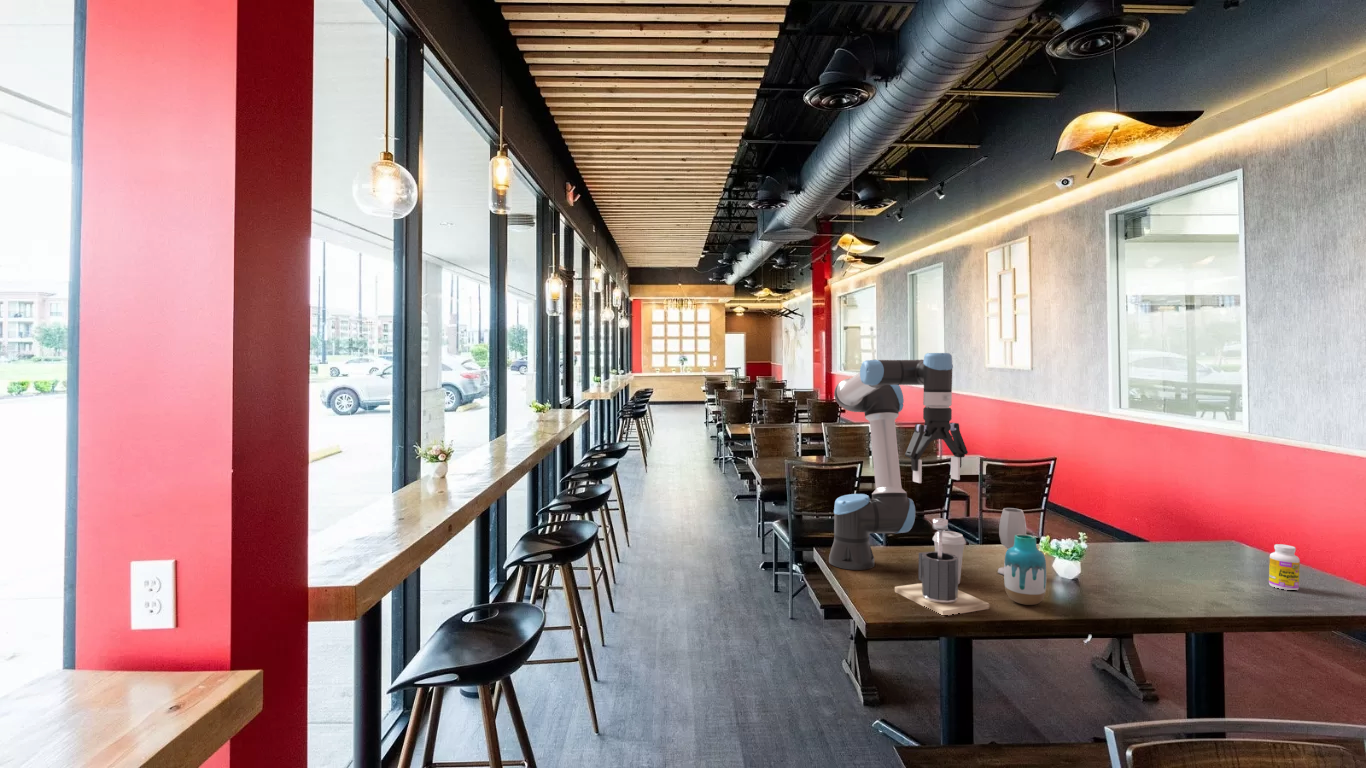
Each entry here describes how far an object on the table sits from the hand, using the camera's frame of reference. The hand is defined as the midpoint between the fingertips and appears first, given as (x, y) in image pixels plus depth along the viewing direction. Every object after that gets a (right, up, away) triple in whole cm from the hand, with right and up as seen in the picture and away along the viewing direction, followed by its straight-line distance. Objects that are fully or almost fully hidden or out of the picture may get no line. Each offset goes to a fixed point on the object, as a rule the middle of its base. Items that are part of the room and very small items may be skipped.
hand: (936, 480), depth 180 cm
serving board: (+2, -35, +2) cm, 35 cm away
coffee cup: (+11, -35, +18) cm, 40 cm away
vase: (+25, -35, -1) cm, 43 cm away
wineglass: (+35, -35, +25) cm, 55 cm away
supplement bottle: (+111, -35, +11) cm, 117 cm away
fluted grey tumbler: (0, -33, 0) cm, 33 cm away
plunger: (0, -32, -1) cm, 32 cm away
